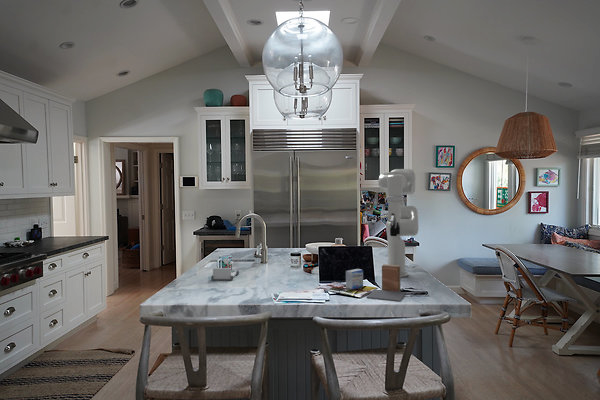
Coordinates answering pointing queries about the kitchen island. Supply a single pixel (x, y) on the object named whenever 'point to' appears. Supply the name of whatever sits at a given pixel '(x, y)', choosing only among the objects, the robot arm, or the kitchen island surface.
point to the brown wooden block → (391, 277)
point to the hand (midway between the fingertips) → (395, 234)
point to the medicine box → (354, 278)
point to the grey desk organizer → (224, 272)
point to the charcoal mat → (386, 295)
